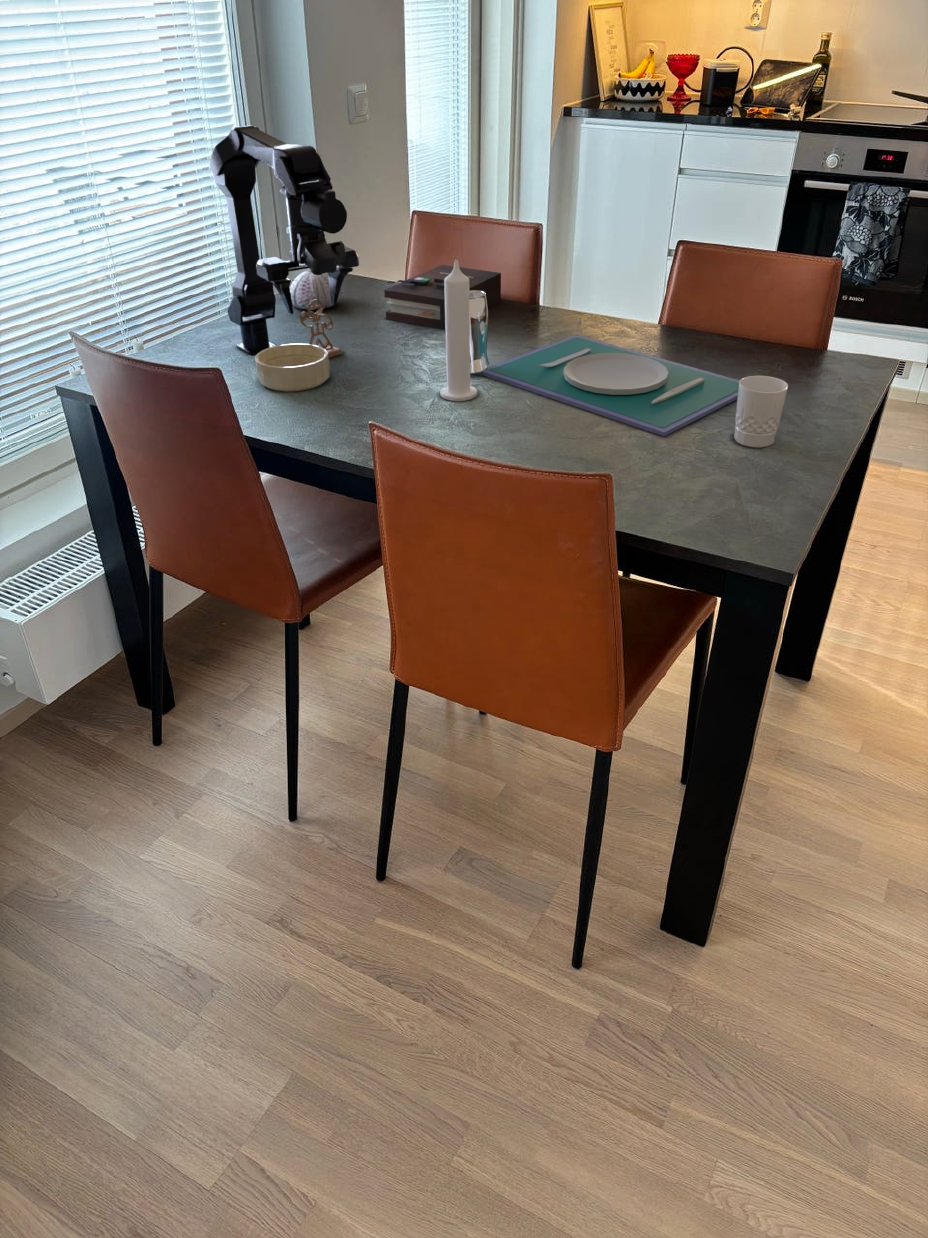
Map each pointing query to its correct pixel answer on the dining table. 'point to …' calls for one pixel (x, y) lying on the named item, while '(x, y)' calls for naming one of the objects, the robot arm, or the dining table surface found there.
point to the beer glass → (478, 332)
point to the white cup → (759, 410)
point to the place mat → (619, 383)
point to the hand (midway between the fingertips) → (312, 309)
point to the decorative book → (435, 295)
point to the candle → (457, 337)
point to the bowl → (292, 367)
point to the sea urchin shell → (311, 290)
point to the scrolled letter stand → (330, 349)
